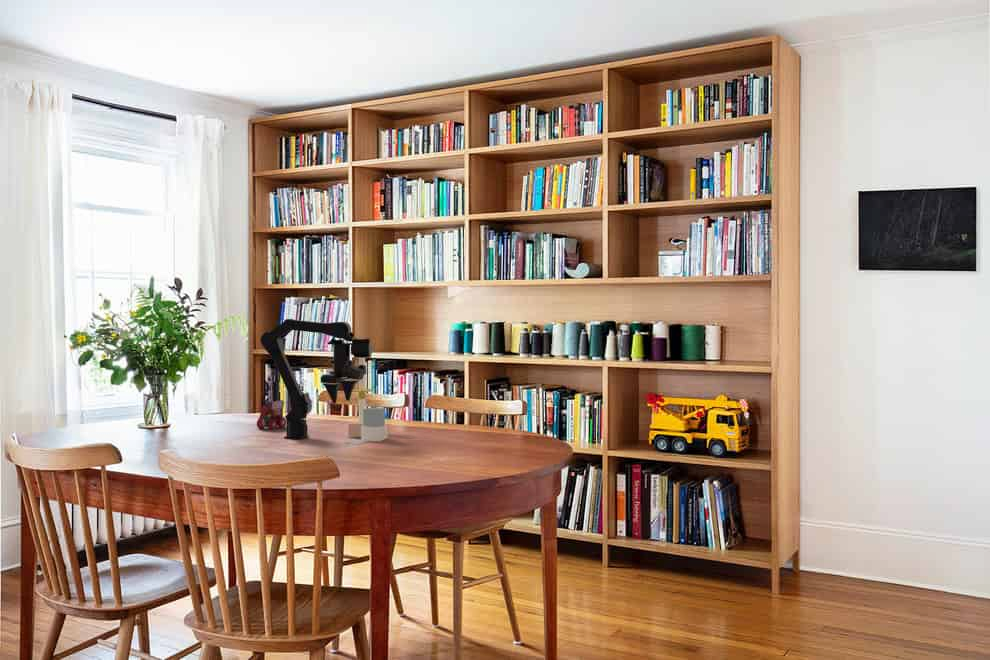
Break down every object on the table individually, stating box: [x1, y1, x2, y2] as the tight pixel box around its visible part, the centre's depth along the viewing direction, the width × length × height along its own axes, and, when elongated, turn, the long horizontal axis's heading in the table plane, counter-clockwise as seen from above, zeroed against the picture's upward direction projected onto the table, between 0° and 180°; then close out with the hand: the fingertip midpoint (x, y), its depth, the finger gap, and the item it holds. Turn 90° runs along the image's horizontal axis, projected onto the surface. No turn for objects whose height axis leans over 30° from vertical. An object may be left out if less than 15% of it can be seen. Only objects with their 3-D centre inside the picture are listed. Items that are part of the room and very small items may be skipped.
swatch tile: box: [341, 438, 368, 445], centre depth 300 cm, size 7×7×1 cm
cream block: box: [360, 424, 388, 442], centre depth 307 cm, size 7×7×5 cm
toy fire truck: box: [256, 399, 287, 431], centre depth 333 cm, size 7×12×10 cm, turn 153°
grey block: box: [363, 407, 386, 427], centre depth 306 cm, size 6×6×6 cm
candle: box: [352, 358, 374, 422], centre depth 327 cm, size 10×10×32 cm
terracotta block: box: [347, 421, 363, 438], centre depth 314 cm, size 5×5×5 cm
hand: (341, 401), depth 309 cm, fingers open, 9 cm apart
